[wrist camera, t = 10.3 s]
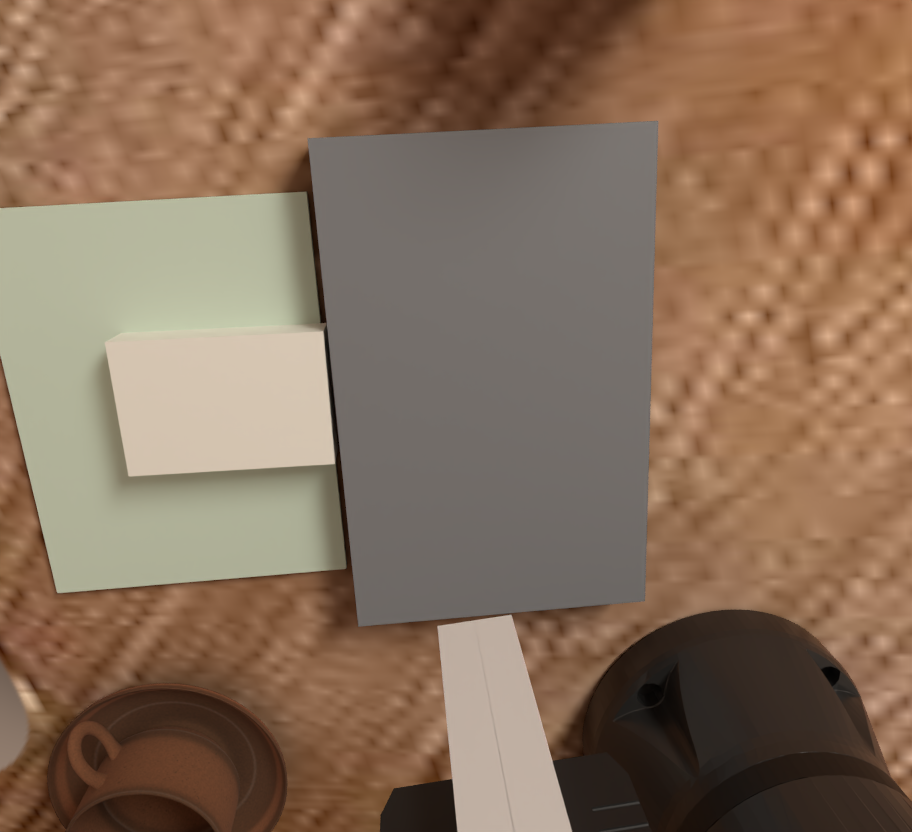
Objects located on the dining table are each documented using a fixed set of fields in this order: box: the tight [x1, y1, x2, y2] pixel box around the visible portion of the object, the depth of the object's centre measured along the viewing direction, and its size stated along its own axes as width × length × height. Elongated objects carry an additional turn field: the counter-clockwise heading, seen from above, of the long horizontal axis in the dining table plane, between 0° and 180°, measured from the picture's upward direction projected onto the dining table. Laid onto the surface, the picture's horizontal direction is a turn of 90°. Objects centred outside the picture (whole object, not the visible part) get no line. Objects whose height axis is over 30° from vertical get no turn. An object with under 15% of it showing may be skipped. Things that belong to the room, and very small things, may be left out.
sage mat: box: [0, 192, 347, 593], centre depth 35 cm, size 18×14×1 cm
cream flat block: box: [105, 323, 338, 476], centre depth 33 cm, size 9×6×2 cm, turn 92°
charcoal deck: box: [308, 121, 658, 627], centre depth 34 cm, size 22×14×2 cm, turn 3°
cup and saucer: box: [47, 683, 287, 832], centre depth 38 cm, size 12×12×6 cm
